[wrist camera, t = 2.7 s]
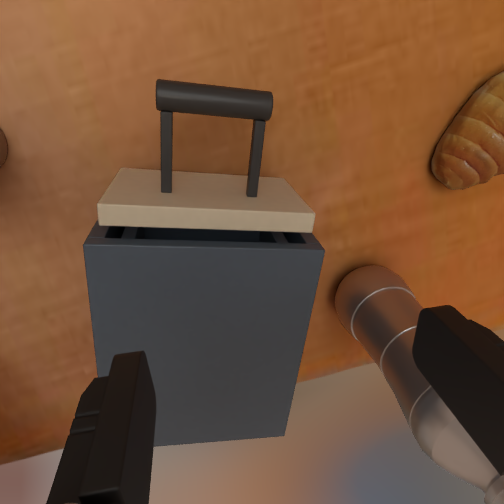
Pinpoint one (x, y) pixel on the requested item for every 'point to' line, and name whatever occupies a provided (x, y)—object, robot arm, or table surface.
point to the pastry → (473, 140)
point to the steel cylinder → (2, 148)
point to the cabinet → (206, 326)
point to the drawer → (205, 181)
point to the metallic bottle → (410, 373)
